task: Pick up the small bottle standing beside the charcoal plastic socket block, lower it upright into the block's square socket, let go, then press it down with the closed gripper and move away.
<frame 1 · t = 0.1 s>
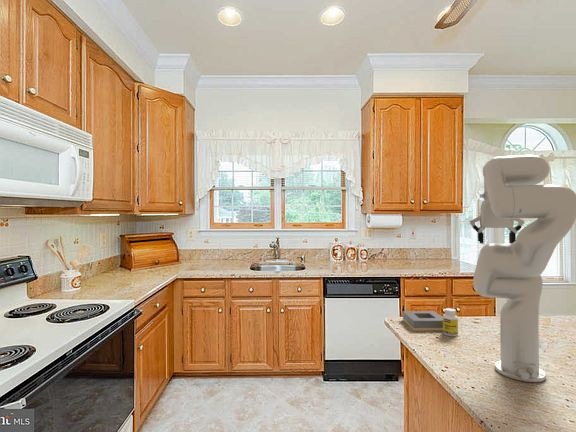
hand: (496, 243, 124), 37 cm above the countertop, tool pointing down, fingers open, 9 cm apart
supplement bottle: (450, 334, 134), on the countertop
supplement box: (521, 333, 135), on the countertop
socket block: (424, 324, 146), on the countertop
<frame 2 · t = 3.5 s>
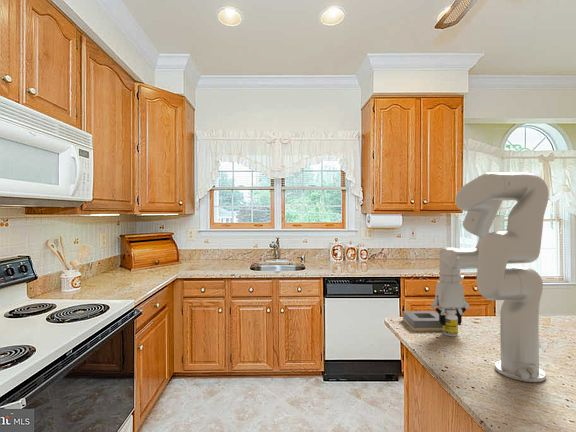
hand: (450, 323, 134), 4 cm above the countertop, tool pointing down, fingers closed on supplement bottle, 5 cm apart
supplement bottle: (450, 334, 134), on the countertop, touching gripper
everything else where it was.
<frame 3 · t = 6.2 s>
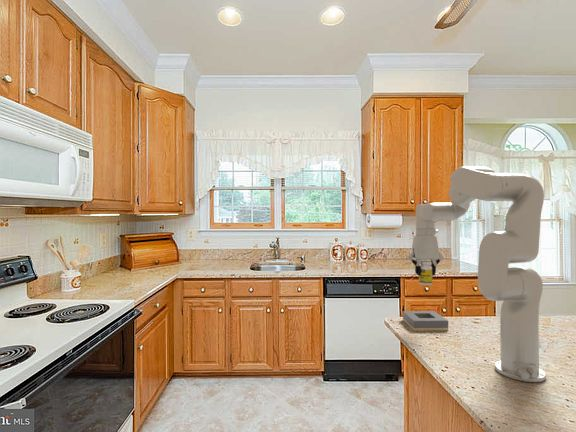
hand: (425, 274, 145), 22 cm above the countertop, tool pointing down, fingers closed on supplement bottle, 5 cm apart
supplement bottle: (425, 284, 145), point 18 cm above the countertop, touching gripper
everything else where it was.
when the fingers open (5 cm above the countertop, at t = 8.8 s): supplement bottle stays where it is, resting on socket block.
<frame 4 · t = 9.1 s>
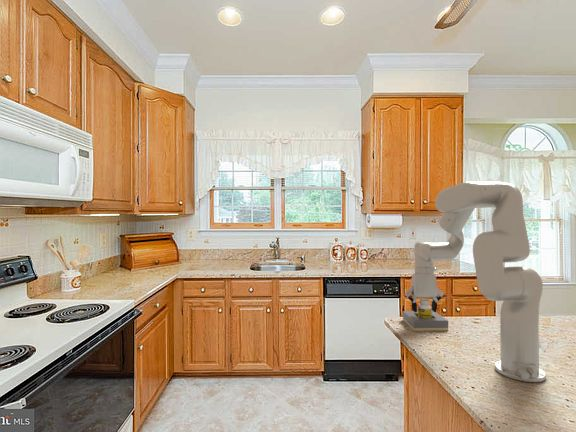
hand: (424, 311, 146), 6 cm above the countertop, tool pointing down, fingers open, 7 cm apart
supplement bottle: (424, 323, 146), point 1 cm above the countertop, touching socket block
everything else where it was.
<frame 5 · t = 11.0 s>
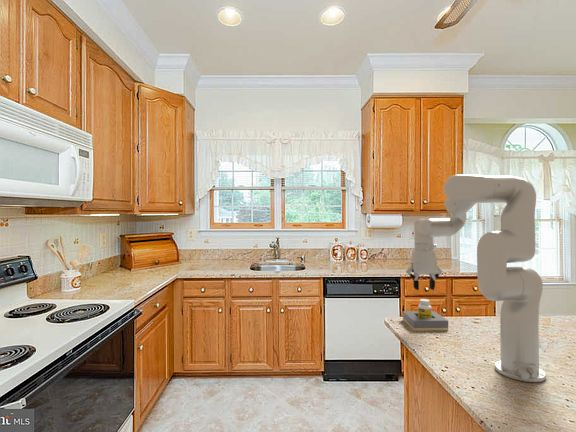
hand: (424, 288, 146), 16 cm above the countertop, tool pointing down, fingers open, 5 cm apart
nothing on the countertop moved.
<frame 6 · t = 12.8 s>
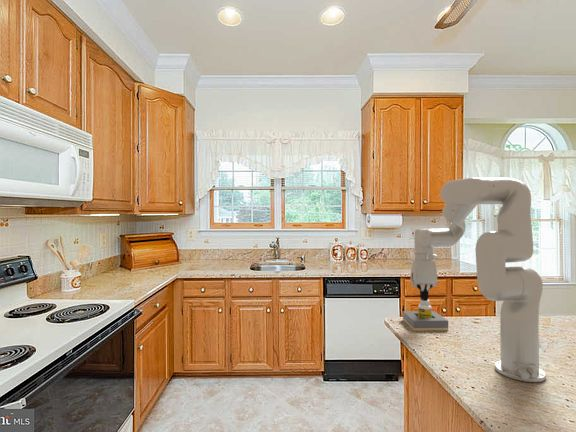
hand: (424, 299, 146), 11 cm above the countertop, tool pointing down, fingers closed
supplement bottle: (424, 323, 146), point 1 cm above the countertop, touching gripper, socket block
everything else where it was.
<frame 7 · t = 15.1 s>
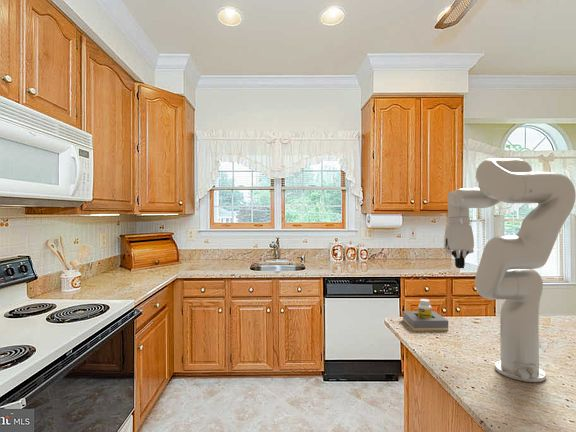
hand: (460, 267, 135), 26 cm above the countertop, tool pointing down, fingers closed
supplement bottle: (424, 323, 146), point 1 cm above the countertop, touching socket block
everything else where it was.
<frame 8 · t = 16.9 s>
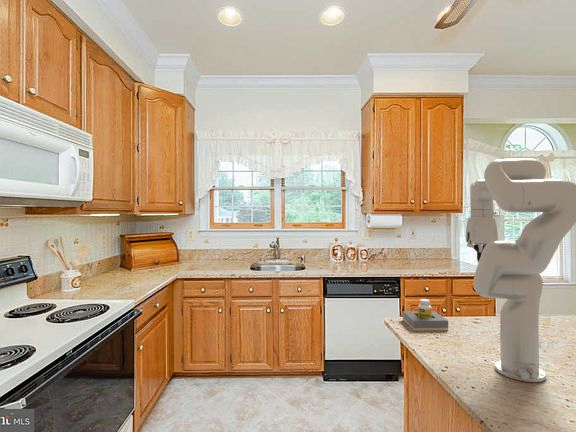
hand: (482, 262, 129), 29 cm above the countertop, tool pointing down, fingers closed
nothing on the countertop moved.
at the end: supplement bottle 0.1 cm off-centre on the socket block, point 0.8 cm above the socket block's base; supplement bottle tilted 0°; the gripper is holding nothing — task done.
